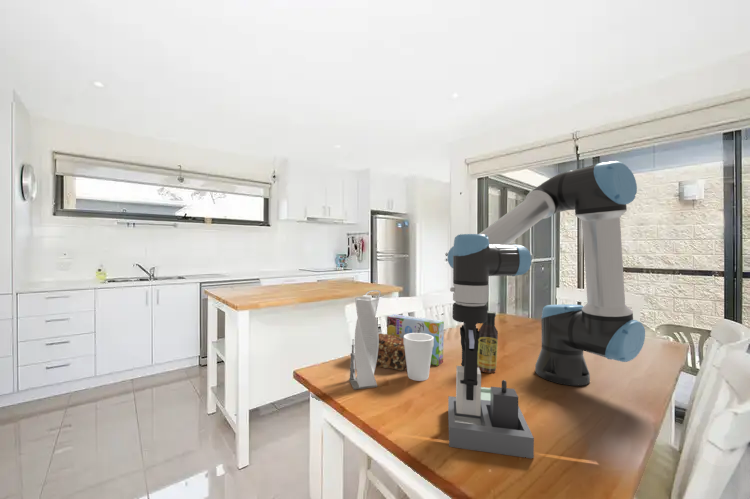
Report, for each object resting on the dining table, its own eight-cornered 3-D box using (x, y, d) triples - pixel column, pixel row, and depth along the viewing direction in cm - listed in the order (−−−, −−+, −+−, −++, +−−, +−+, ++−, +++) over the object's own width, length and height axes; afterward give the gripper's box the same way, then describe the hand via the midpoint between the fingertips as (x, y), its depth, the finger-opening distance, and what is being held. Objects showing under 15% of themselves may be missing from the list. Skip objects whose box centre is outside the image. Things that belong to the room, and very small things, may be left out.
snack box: (444, 361, 114) (444, 320, 114) (438, 366, 109) (438, 323, 109) (392, 351, 125) (393, 313, 125) (385, 355, 120) (386, 315, 120)
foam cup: (432, 386, 93) (433, 342, 93) (401, 383, 95) (402, 340, 95) (433, 373, 102) (433, 333, 102) (405, 371, 104) (405, 332, 104)
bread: (354, 363, 112) (354, 335, 112) (368, 354, 121) (369, 328, 121) (403, 373, 103) (403, 342, 103) (414, 362, 113) (414, 334, 113)
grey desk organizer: (517, 420, 75) (518, 370, 75) (533, 458, 61) (534, 397, 61) (448, 412, 78) (448, 364, 78) (449, 446, 65) (449, 388, 64)
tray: (494, 393, 89) (494, 388, 89) (503, 416, 76) (503, 411, 76) (458, 389, 91) (458, 384, 91) (460, 411, 79) (460, 406, 78)
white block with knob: (478, 407, 72) (479, 355, 72) (480, 416, 68) (481, 361, 68) (455, 404, 73) (456, 353, 73) (456, 413, 69) (457, 359, 69)
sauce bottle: (477, 372, 103) (477, 312, 103) (476, 366, 110) (477, 309, 110) (498, 375, 102) (499, 313, 102) (496, 368, 108) (497, 310, 108)
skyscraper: (375, 377, 99) (376, 288, 99) (383, 388, 91) (384, 291, 91) (349, 379, 97) (350, 289, 97) (354, 391, 89) (355, 292, 89)
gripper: (451, 296, 80) (450, 389, 80) (453, 309, 63) (451, 426, 63) (482, 298, 78) (481, 392, 78) (493, 311, 61) (491, 431, 61)
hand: (468, 407), depth 70 cm, fingers closed on white block with knob, 4 cm apart
